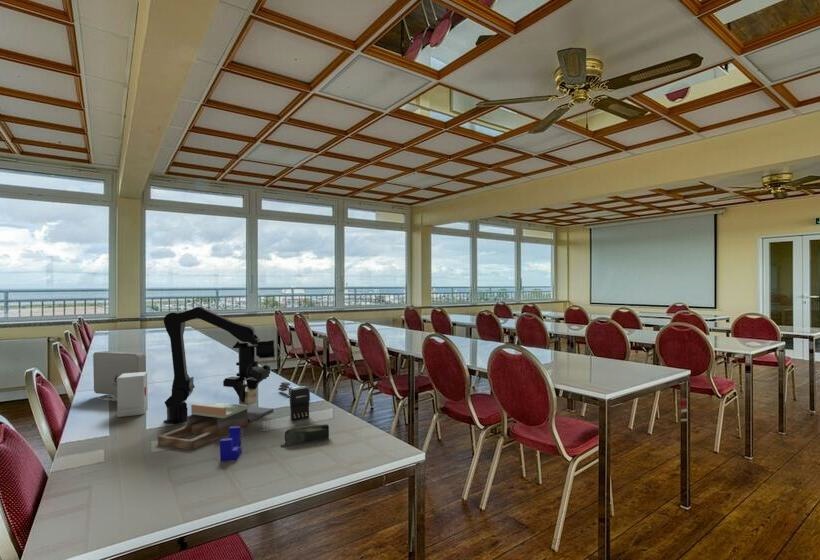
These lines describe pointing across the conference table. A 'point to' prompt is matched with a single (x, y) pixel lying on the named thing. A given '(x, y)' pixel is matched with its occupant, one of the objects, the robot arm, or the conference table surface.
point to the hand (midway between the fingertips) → (247, 400)
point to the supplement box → (132, 394)
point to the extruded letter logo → (285, 387)
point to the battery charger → (299, 403)
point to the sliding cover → (217, 409)
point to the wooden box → (202, 430)
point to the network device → (114, 370)
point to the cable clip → (231, 445)
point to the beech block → (249, 397)
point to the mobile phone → (306, 434)
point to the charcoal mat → (256, 412)
